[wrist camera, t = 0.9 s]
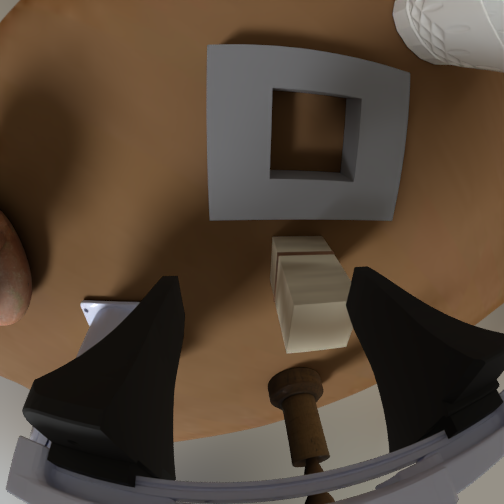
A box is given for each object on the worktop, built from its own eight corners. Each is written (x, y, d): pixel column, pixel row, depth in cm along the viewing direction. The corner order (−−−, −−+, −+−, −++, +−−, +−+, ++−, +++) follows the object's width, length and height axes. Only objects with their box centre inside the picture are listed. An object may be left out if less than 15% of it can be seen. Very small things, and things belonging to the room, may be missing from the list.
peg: (316, 278, 24) (346, 347, 17) (269, 280, 23) (285, 353, 16) (322, 235, 22) (362, 298, 15) (271, 235, 21) (293, 304, 14)
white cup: (431, 88, 16) (528, 102, 7) (367, 12, 13) (455, -24, 4) (467, 45, 13) (550, 49, 4) (412, -23, 10) (490, -50, 1)
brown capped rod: (329, 370, 31) (369, 503, 15) (303, 397, 34) (329, 516, 18) (282, 363, 29) (312, 517, 14) (258, 392, 32) (275, 524, 16)
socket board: (377, 208, 21) (391, 220, 19) (211, 206, 20) (209, 220, 18) (391, 74, 15) (410, 73, 13) (210, 53, 14) (207, 44, 12)
